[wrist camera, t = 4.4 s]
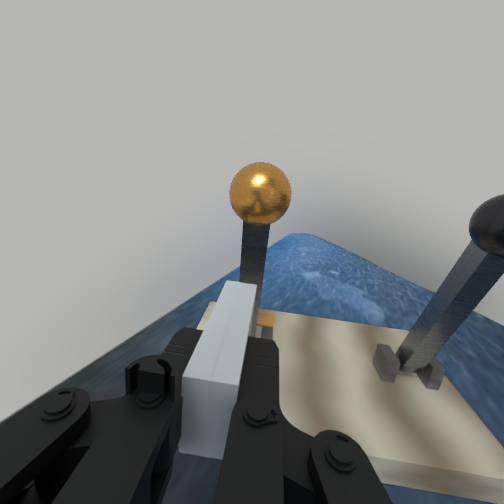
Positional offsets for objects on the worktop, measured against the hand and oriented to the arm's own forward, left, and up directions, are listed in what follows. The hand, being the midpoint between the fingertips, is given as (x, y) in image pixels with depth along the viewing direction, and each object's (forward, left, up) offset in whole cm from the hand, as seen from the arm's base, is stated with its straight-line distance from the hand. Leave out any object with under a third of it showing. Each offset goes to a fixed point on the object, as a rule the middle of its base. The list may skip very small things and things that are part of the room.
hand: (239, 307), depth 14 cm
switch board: (-7, -9, -11) cm, 15 cm away
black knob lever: (-14, -9, -7) cm, 18 cm away
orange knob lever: (0, -9, -7) cm, 11 cm away
